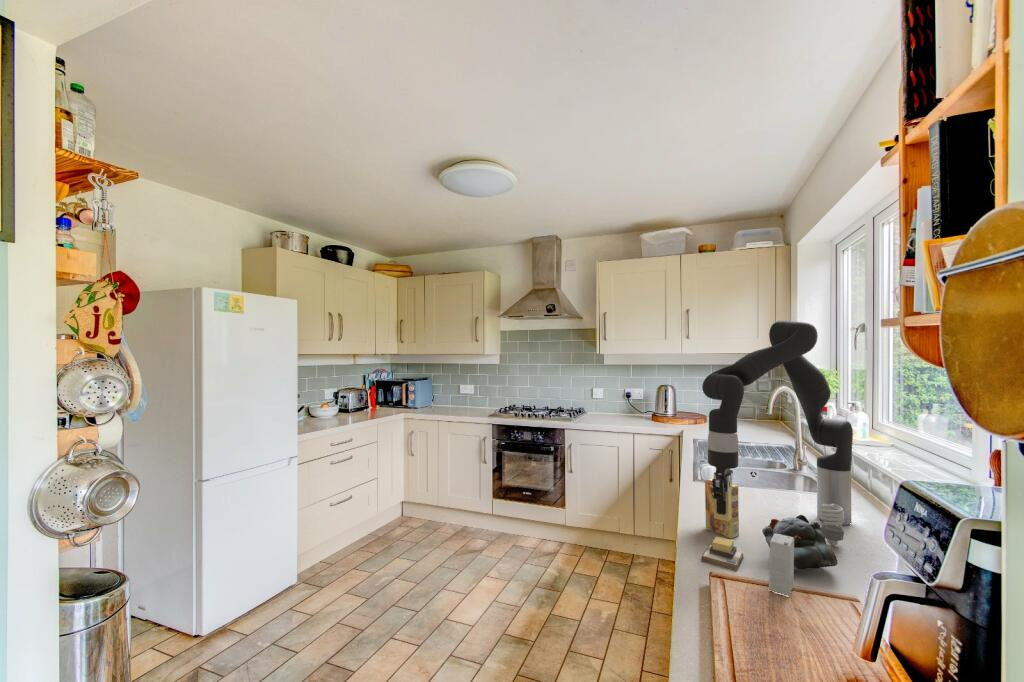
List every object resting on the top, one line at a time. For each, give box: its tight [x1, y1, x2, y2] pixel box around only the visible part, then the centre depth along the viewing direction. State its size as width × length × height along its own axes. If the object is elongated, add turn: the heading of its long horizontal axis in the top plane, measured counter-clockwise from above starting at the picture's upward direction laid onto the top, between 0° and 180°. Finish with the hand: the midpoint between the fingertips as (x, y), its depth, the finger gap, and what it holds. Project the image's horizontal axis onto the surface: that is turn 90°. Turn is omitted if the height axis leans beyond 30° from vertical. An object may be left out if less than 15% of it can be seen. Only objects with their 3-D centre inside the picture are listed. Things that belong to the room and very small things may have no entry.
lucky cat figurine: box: [762, 514, 838, 572], centre depth 117 cm, size 15×12×14 cm
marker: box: [714, 486, 731, 521], centre depth 122 cm, size 4×4×10 cm
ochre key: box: [712, 536, 735, 554], centre depth 121 cm, size 4×4×2 cm
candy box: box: [704, 478, 740, 539], centre depth 138 cm, size 9×4×15 cm, turn 33°
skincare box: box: [768, 533, 795, 597], centre depth 105 cm, size 6×4×12 cm
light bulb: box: [820, 504, 845, 547], centre depth 129 cm, size 6×6×12 cm
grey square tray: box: [700, 544, 745, 571], centre depth 120 cm, size 8×9×3 cm
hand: (723, 511), depth 122 cm, fingers closed on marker, 3 cm apart
